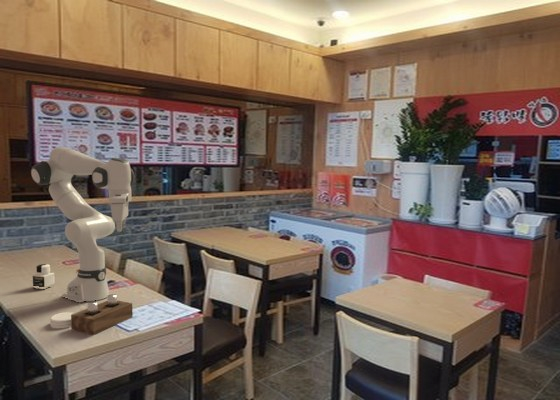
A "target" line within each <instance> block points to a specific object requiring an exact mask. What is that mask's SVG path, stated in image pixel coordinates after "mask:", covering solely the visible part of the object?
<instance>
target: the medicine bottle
mask: <svg viewBox="0 0 560 400" xmlns="http://www.w3.org/2000/svg"><path fill="white" fill-rule="evenodd" d="M55 281H56V279H55V272H51V265H50V264H48V263H43V264H38V265H37V266H36V274H32V286H39V287H46V286H49V285H51V284H54V283H55ZM55 284H56V283H55Z"/></svg>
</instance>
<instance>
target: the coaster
mask: <svg viewBox="0 0 560 400" xmlns="http://www.w3.org/2000/svg"><path fill="white" fill-rule="evenodd" d="M74 313H76V311H75V312H74V311H66V312H65V311H64V312H59V313H56V314H54V315H52V316H51V317H50V318H49V321H50V322H49V323H50V327H51V328H53V329H55V330H57V329H58V330H59V329H67V328H72V326H71V315H72V314H74Z"/></svg>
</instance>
